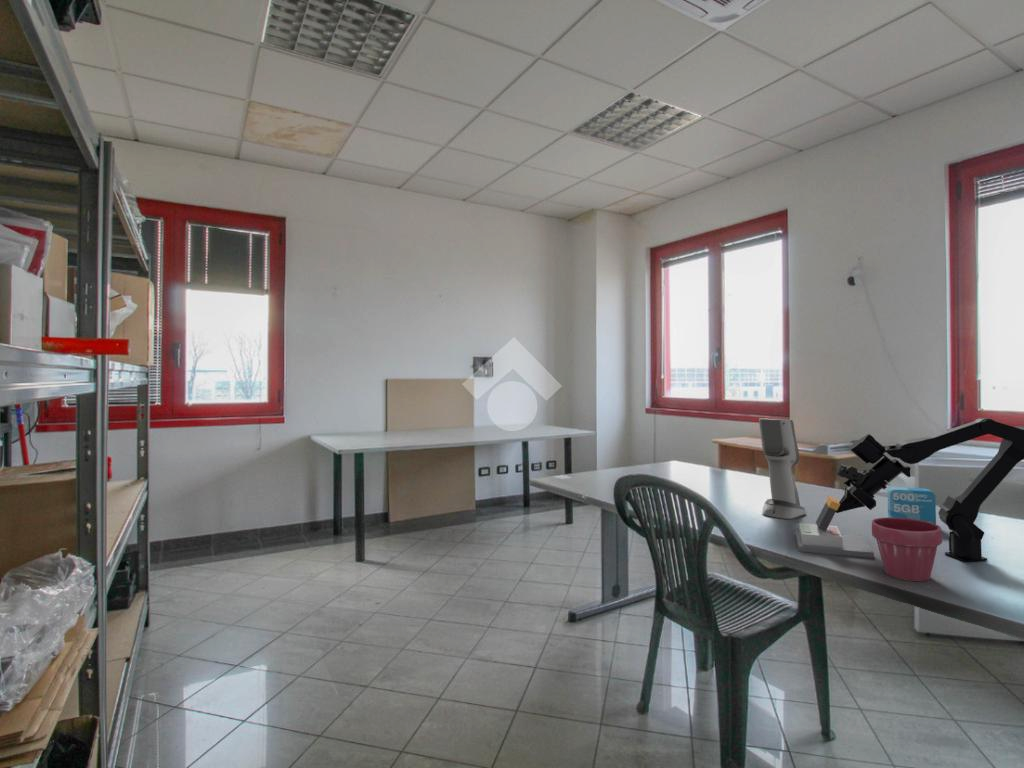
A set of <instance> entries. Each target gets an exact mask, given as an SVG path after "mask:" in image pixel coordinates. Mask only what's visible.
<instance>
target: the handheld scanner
mask: <svg viewBox="0 0 1024 768" xmlns="http://www.w3.org/2000/svg"><path fill="white" fill-rule="evenodd" d="M758 424H759V431H760V440H761V447H762V451H763V454H764V456H765V459H766V461H767V464H768V473H769V485H770V486H769V487H770V495H771V498H767V500H765V502H764V504H763V507H762V512H761V514H762V515H763V516H765V515H766V516H765V517H770V518H775V519H780V520H793V519H797V518H799V517H802V516H804V515H806V514H807V512H806V508H804V506H801V502H800V497H799V492H798V488H797V484H796V482H795V481H796V480H795V478H794V477H795V476H794V473H793V467H794V466H795V465H797V464H798V463H799V461H800V453H799V447H798V442H797V437H796V430H795V425H794V420H792V419H786V418H765V417H764V418H763V417H759V419H758Z"/></svg>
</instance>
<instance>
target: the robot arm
mask: <svg viewBox="0 0 1024 768" xmlns="http://www.w3.org/2000/svg"><path fill="white" fill-rule="evenodd" d="M986 435H991V436H994V437H997V438H1000V439H1001V441H1000V444H999V447H998V451H997V453H996V454H995V455H994V457H993V458H992V459H991V460H990V461H989V462H988V464H987V465H986V466H985V467H984V468H983V470H982V471H981V472H980V473H979V474H978V475H977V476H976V477H975V478H974V480H973V481H972V482H971V483H970V485H968V487H967V488H966V489H965V490H964V491H963V493H962V494H960V495H958V496H957V497H953V496H951V495H948V496H947V497H946V498H945V501H944V502H942V503H941V504H939V505H938V507H939V508H940V509H939V510H938V513H937V514H938V517H939V520H940V521H941V522H943V524H944V525H946V526H947V527H948V529H949V536H948V551H944V555H946V556H949V557H951V558H954V559H957V560H959V561H963V562H967V563H968V562H982V561H985V562H986V561H988V558H987V557H984V556H982V553H983V552H982V540H983V537H984V535H985V531H983V530H982V529H981V528H980V527H979V526H977V525H976V524H975V521H976V520H977V518H978V515H979V513H980V512H979V511H980V509H981V505H982V504H983V503H984V502H985V501H986V500H987V499H988V497H989V496H990V495H991V494H992V492H994V491H995V489H996V488H997V487H998V486H999V485H1000V484H1001V483H1002V482H1003V481H1004V479H1005V478H1006V477H1007V476H1008V474H1009V473H1010V472H1011V471H1012V470H1013V469H1014V468H1015V467H1016V465H1017V464H1018V463H1019V462H1021V461H1024V425H1015V426H1012V425H1009V424H1005V423H1002V422H999V421H996V420H994V419H991V418H989V417H988V418H986V417H979V418H977V419H975V420H974V421H970V422H968V423H965V424H961V425H958V426H957V427H952V428H950V429H947V430H945V431H941V432H939V433H936V434H932V435H931V436H926V437H917V438H912V439H906V440H901V441H899V442H896V444H892V445H882V444H881V443H880V442H878V440H876V439H875V437H874V436H873V435H871V434H870V433H867V434H866V435H864V436H863V437H861V438H860V439H857V440H856V441H855V442H853V443H852V444H851V445H850V446H849V448H848V450H849V451H850V452H851V453H853V454H854V455H855V456H856V457H857V458H859V459H860V460H861V461H862V462H863V463H865V464H866V465H867V464H869V463H870V464H871V465H872V466H871V467H870V468H869V469H863V470H861V471H860V470H858V468H856V467H854V466H852V465H849V466H848V465H846V464H844V463H840V464H839V466H838V468H837V470H836V472H835V473H836V475H837V476H839V477H841V478H845V479H843V480H842V483H843V484H844V486H843V490H844V491H843V492H844V494H843V496H842V497H841V499H840V500H838V502H839V503H840V506H839V508H838V510H837V511H836V512H835V514H839V513H844V512H847V511H850V510H854V509H859V508H865V507H866V508H868V510H870V511H872V510H873V509H874V508H875V507H877V500H876V499H875V495H876V494H877V493H878V492H880V491H881V490H886V488H888V486H887V485H889V483H891V482H892V481H893V480H894V479H896V478H897V477H899V475H901V474H903V475H904V476H906V477H907V478H911V476H912V475H911V469H912V468H911V467H910V466H907V465H906V466H905V465H904V464H902V463H901V462H900V461H902V462H903V463H906V464H908V465H915V464H918V463H920V462H922V461H924V460H926V459H928V458H930V457H931V456H932V455H933V454H935V453H936V452H939V451H941V450H943V449H946V448H950V447H954V446H955V445H958V444H961V443H965V442H967V441H970V440H974V439H976V438H980V437H984V436H986ZM885 454H887V455H888V456H890V457H892V458H893V459H890V458H889V457H888V456H886V455H885ZM896 458H897V459H896ZM899 460H900V461H899ZM845 485H846V486H847V487H846V486H845Z"/></svg>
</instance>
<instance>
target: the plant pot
mask: <svg viewBox="0 0 1024 768" xmlns="http://www.w3.org/2000/svg"><path fill="white" fill-rule="evenodd" d="M871 535H872V537H874V539H876V542H877V547H878V551H879V555H880V558H881V562H882V565H883V569H884V571H885V573H886V574H887V575H889V576H890V577H893V578H896V579H899V580H903V581H904V580H905V581H911V582H912V581H913V582H926V581H929V580H930V579H931V575H932V572H933V567H934V563H935V559H936V554H937V550H938V546H940V545H941V544H942V542H943V535H942V527H941V526H940V525H938V524H937V523H936V524H934V523H931V522H927V521H922V520H917V519H909V518H892V517H890V518H888V517H878V518H874V519H872V521H871Z"/></svg>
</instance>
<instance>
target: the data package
mask: <svg viewBox="0 0 1024 768" xmlns="http://www.w3.org/2000/svg"><path fill="white" fill-rule="evenodd" d="M886 492H887V518H890V517H892V518H909V519H917V520H922V521H927V522H931V523H934V524H936V525H937V513H936V512H937V510H936V509H937V507H936V502H937V501H936V494H935V493H934V492H933V491H932V490H930V489H928V488H919V487H902V486H901V487H899V486H891V487H889V488H888V489H887V491H886Z"/></svg>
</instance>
